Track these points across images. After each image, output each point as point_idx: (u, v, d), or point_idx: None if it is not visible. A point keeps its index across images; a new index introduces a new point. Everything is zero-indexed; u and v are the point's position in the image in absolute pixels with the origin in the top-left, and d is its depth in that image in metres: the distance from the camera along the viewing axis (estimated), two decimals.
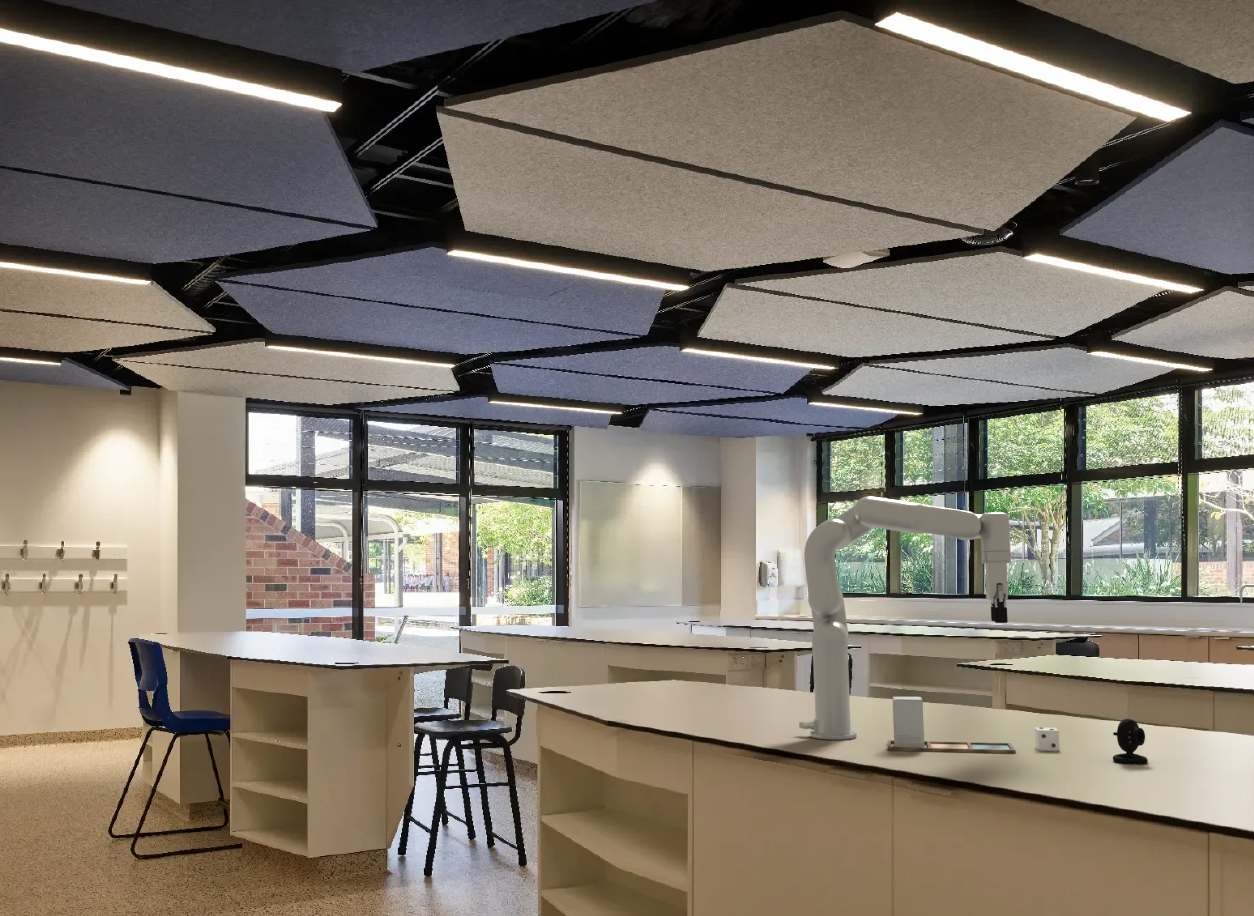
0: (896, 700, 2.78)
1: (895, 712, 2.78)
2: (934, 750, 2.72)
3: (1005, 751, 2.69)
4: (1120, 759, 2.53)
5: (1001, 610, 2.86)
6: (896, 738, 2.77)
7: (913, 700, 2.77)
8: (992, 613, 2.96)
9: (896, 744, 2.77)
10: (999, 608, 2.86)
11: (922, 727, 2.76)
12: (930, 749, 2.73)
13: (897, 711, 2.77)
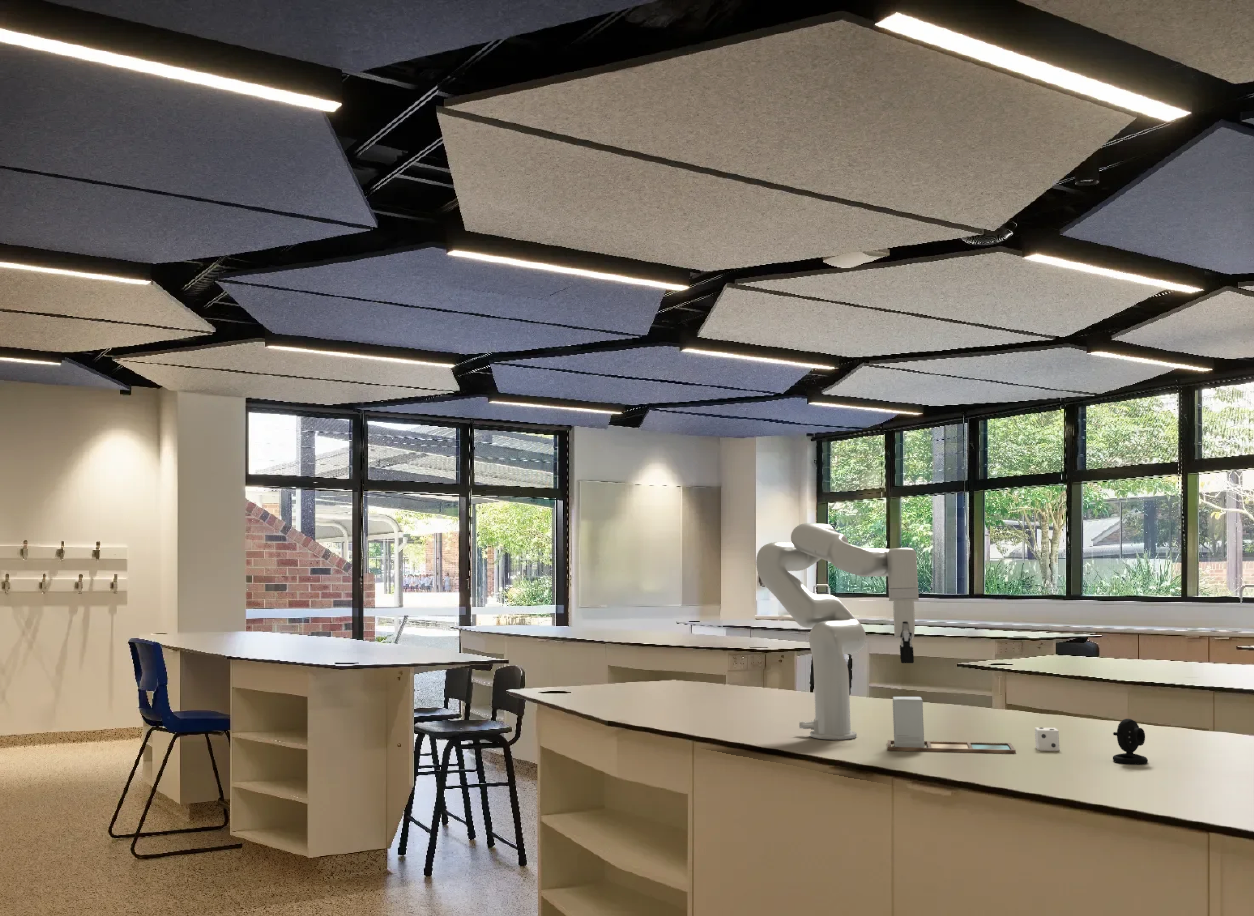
0: (896, 700, 2.78)
1: (895, 712, 2.78)
2: (934, 750, 2.72)
3: (1005, 751, 2.69)
4: (1120, 759, 2.53)
5: (907, 650, 2.76)
6: (896, 738, 2.77)
7: (913, 700, 2.77)
8: None
9: (896, 744, 2.77)
10: (905, 648, 2.76)
11: (922, 727, 2.76)
12: (930, 749, 2.73)
13: (897, 711, 2.77)
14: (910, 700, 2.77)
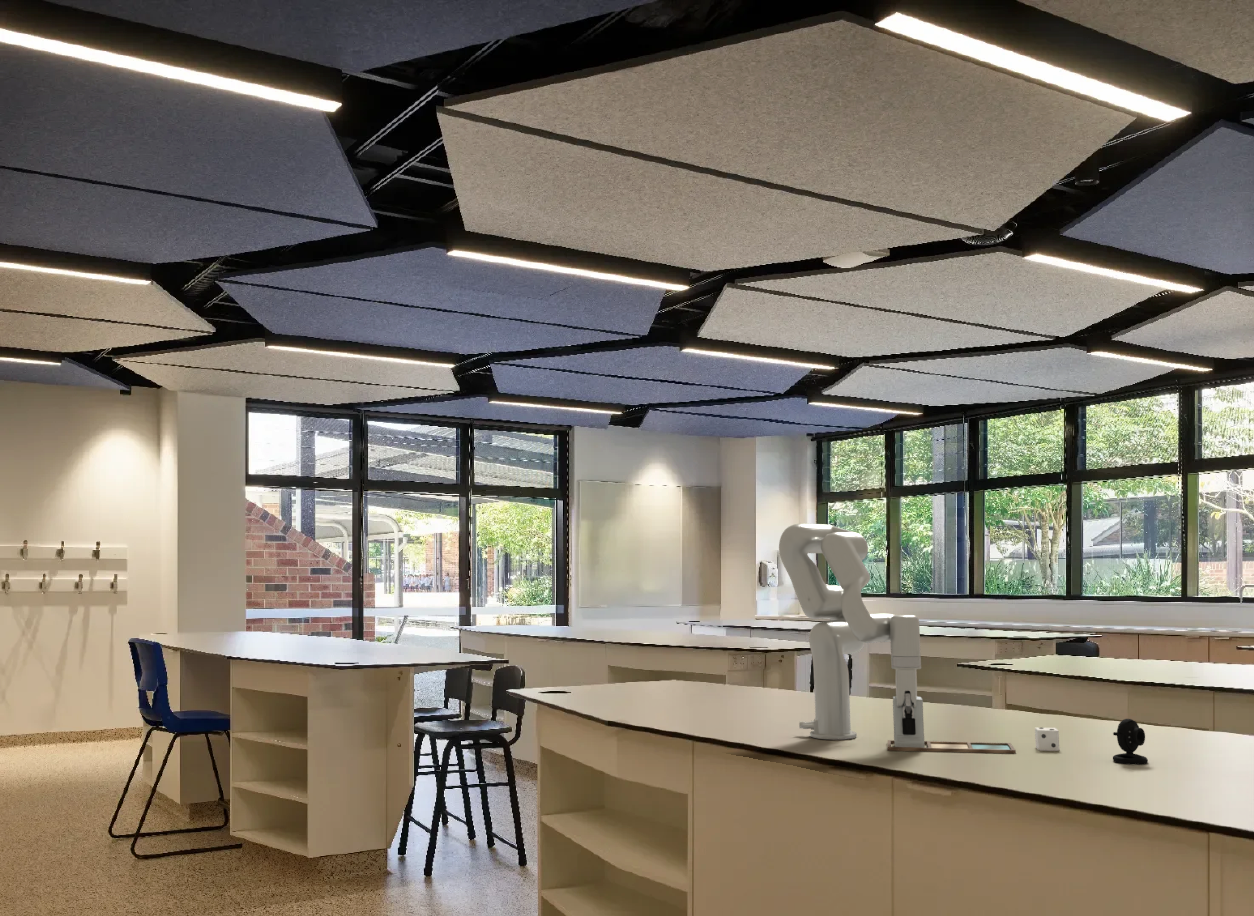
0: (896, 700, 2.78)
1: (895, 712, 2.78)
2: (934, 750, 2.72)
3: (1005, 751, 2.69)
4: (1120, 759, 2.53)
5: (909, 721, 2.75)
6: (896, 738, 2.77)
7: None
8: None
9: (896, 744, 2.77)
10: (907, 719, 2.75)
11: (922, 727, 2.76)
12: (930, 749, 2.73)
13: (897, 711, 2.77)
14: (910, 700, 2.77)
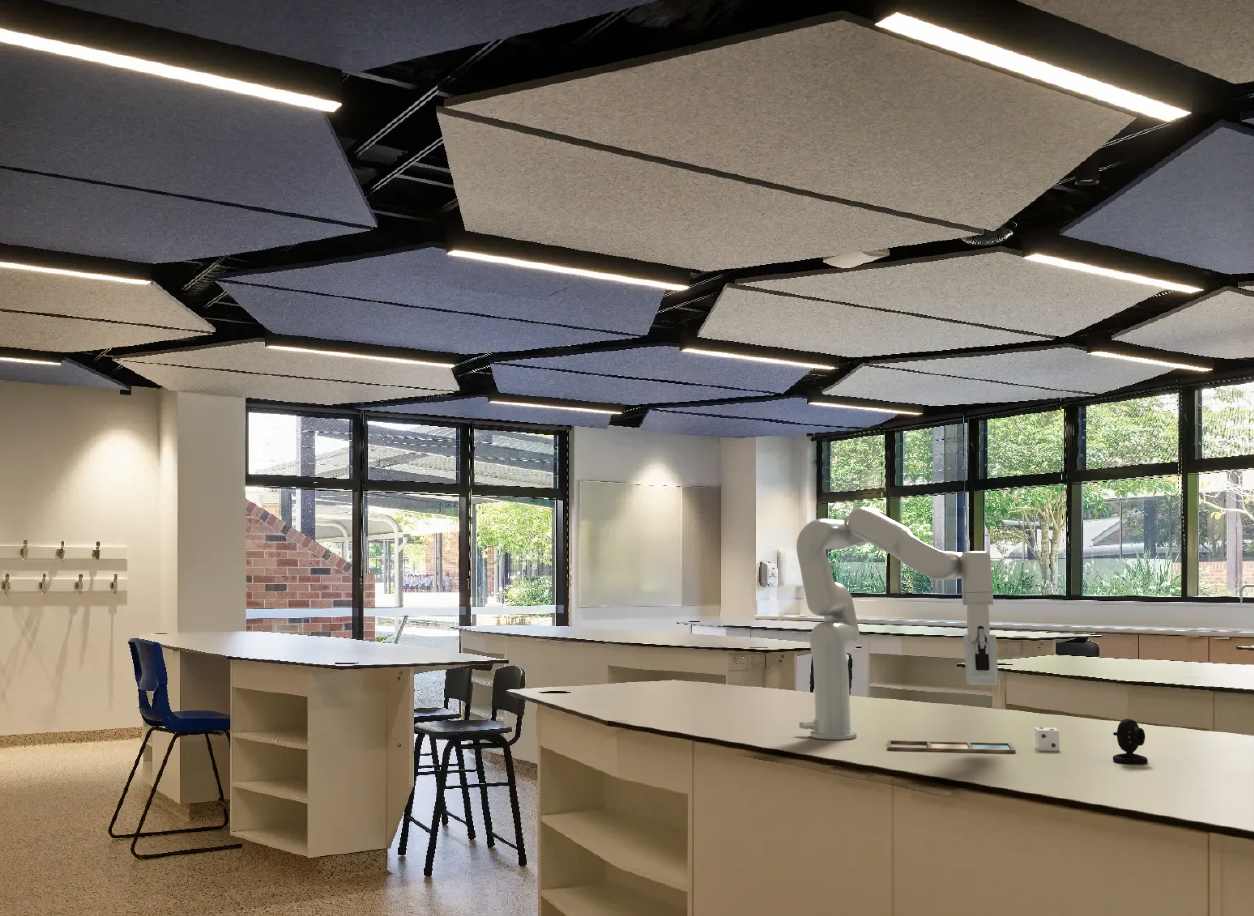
0: None
1: (968, 648, 2.75)
2: (934, 750, 2.72)
3: (1005, 751, 2.69)
4: (1120, 759, 2.53)
5: (982, 657, 2.73)
6: (969, 674, 2.74)
7: None
8: None
9: (969, 680, 2.74)
10: (980, 655, 2.73)
11: (996, 662, 2.73)
12: (930, 749, 2.73)
13: (970, 647, 2.75)
14: None
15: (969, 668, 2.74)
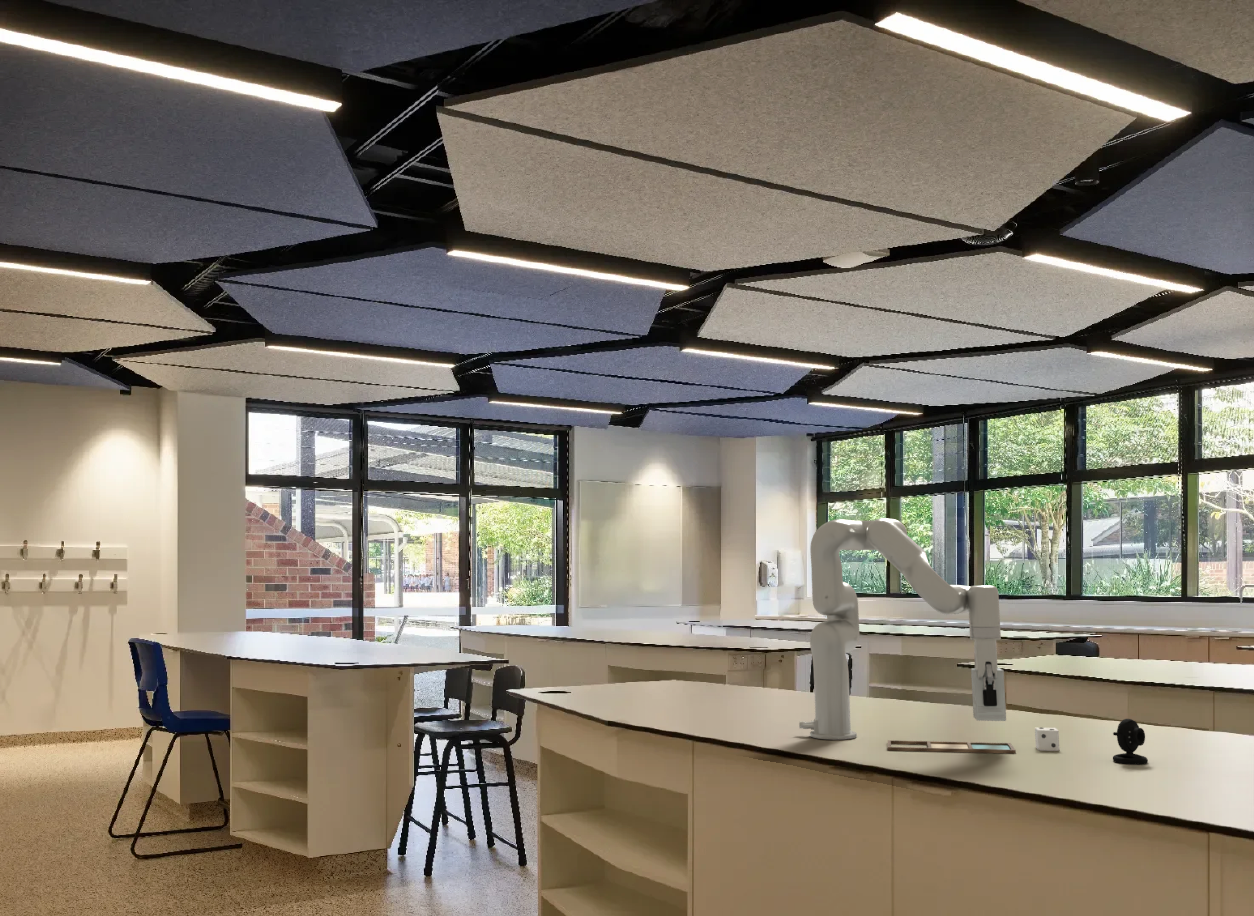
0: (976, 671, 2.74)
1: (976, 683, 2.74)
2: (934, 750, 2.72)
3: (1005, 751, 2.69)
4: (1120, 759, 2.53)
5: (990, 693, 2.71)
6: (977, 709, 2.73)
7: None
8: None
9: (977, 715, 2.73)
10: (988, 690, 2.72)
11: (1003, 698, 2.72)
12: (930, 749, 2.73)
13: (978, 682, 2.74)
14: None
15: (977, 704, 2.73)
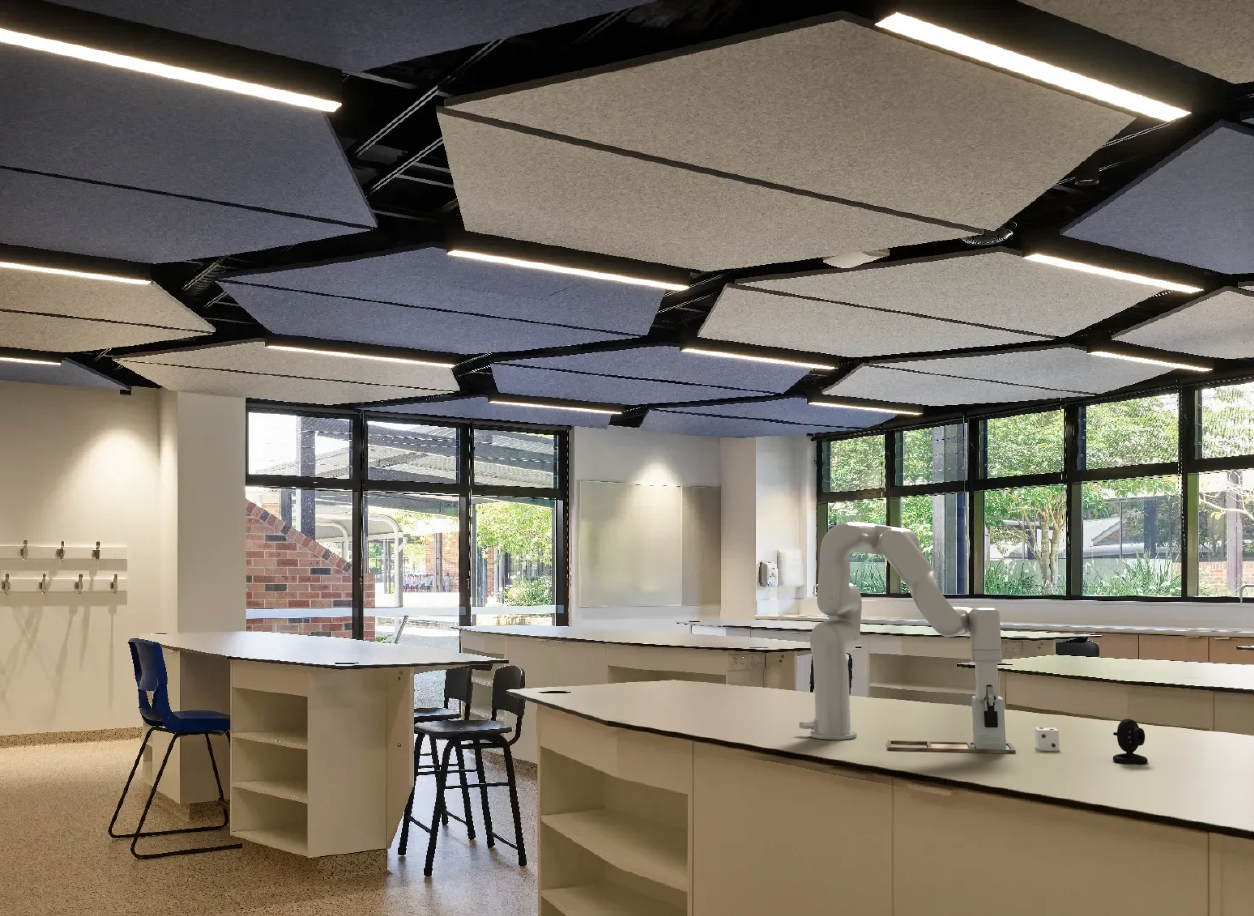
0: (976, 700, 2.74)
1: (975, 712, 2.73)
2: (934, 750, 2.72)
3: (1005, 751, 2.69)
4: (1120, 759, 2.53)
5: (991, 714, 2.70)
6: (977, 738, 2.73)
7: None
8: None
9: (977, 744, 2.73)
10: (989, 712, 2.70)
11: (1003, 727, 2.72)
12: (930, 749, 2.73)
13: (977, 711, 2.73)
14: None
15: (977, 732, 2.73)
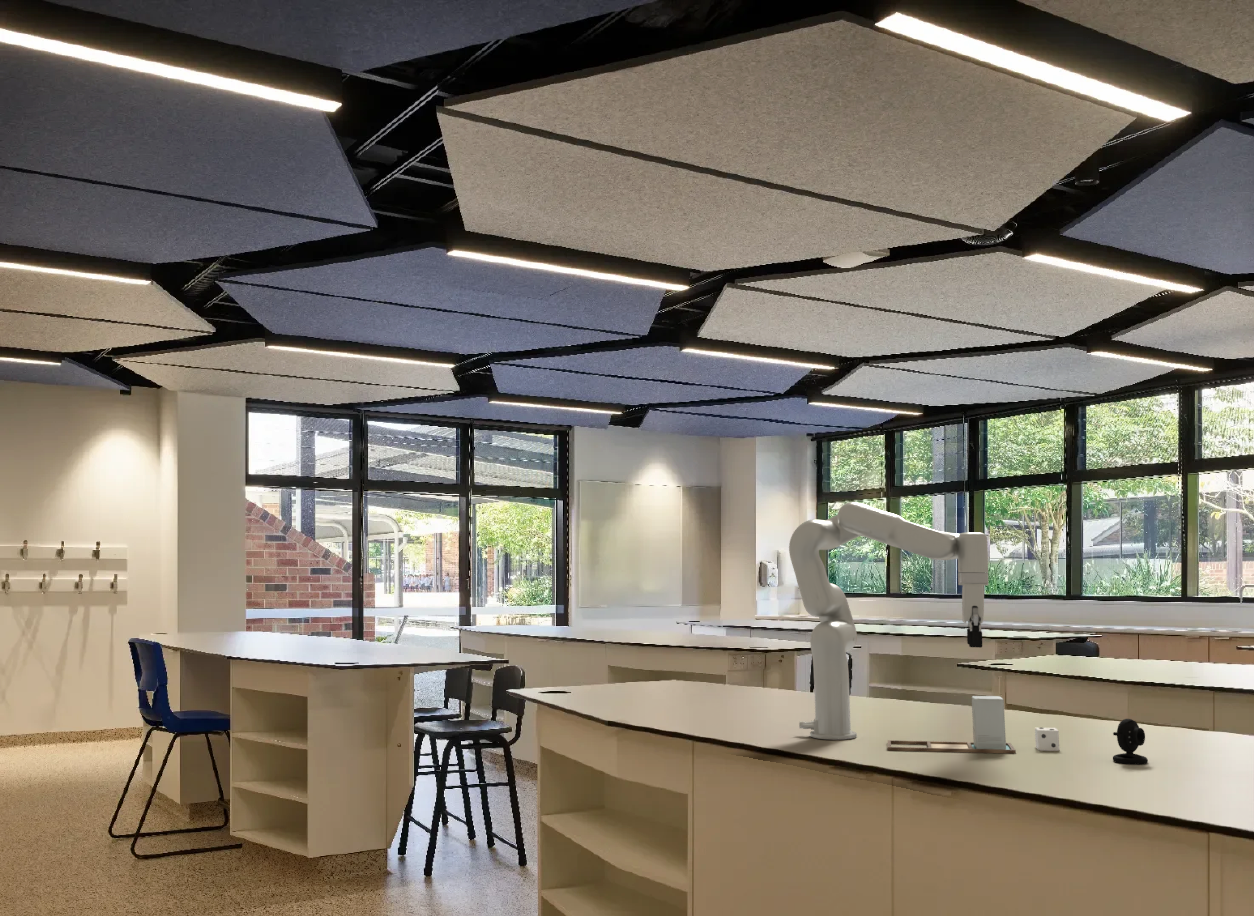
0: (976, 700, 2.74)
1: (975, 712, 2.73)
2: (934, 750, 2.72)
3: (1005, 751, 2.69)
4: (1120, 759, 2.53)
5: (976, 634, 2.77)
6: (977, 738, 2.73)
7: (994, 700, 2.73)
8: (968, 636, 2.87)
9: (977, 744, 2.73)
10: (974, 632, 2.77)
11: (1003, 727, 2.72)
12: (930, 749, 2.73)
13: (977, 711, 2.73)
14: (991, 700, 2.73)
15: (977, 732, 2.73)
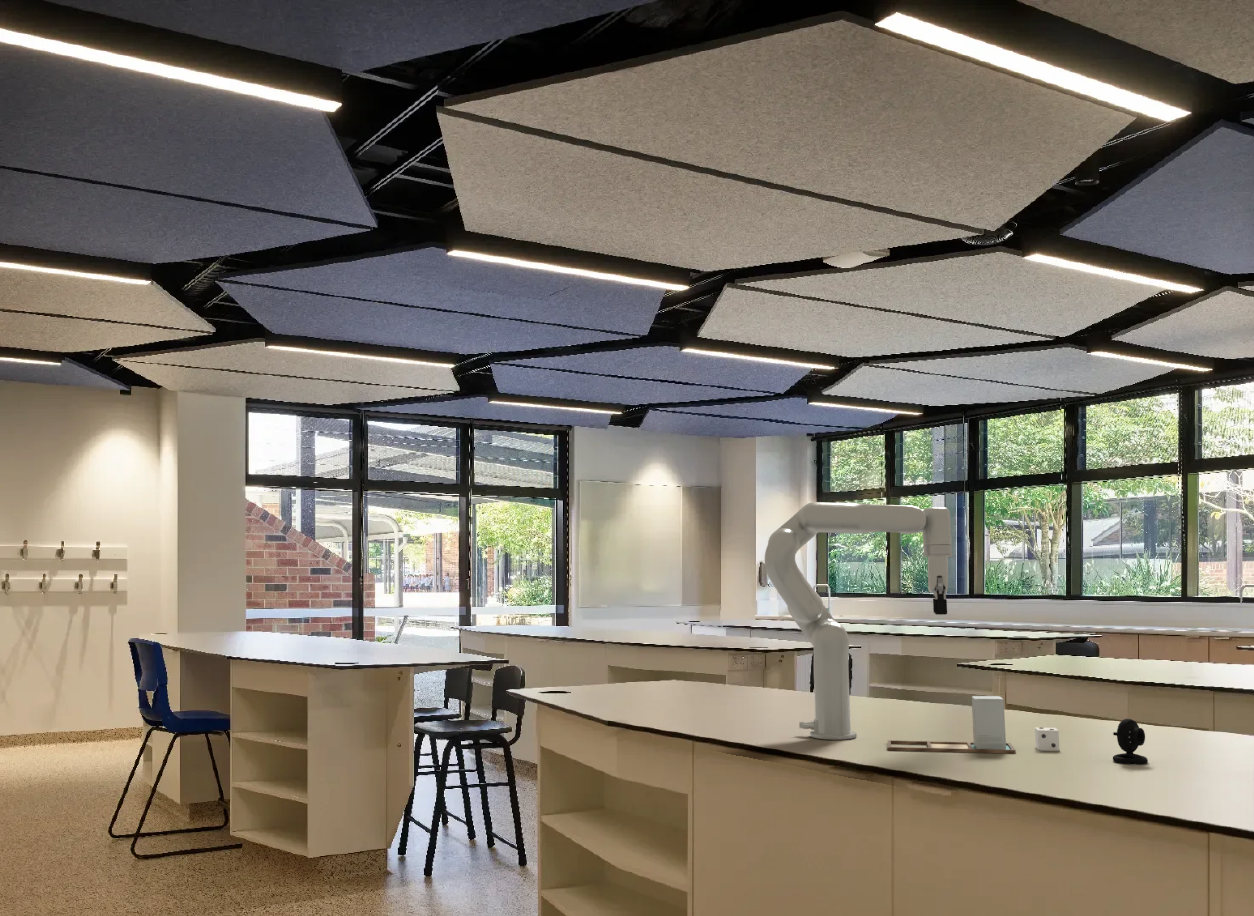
0: (976, 700, 2.74)
1: (975, 712, 2.73)
2: (934, 750, 2.72)
3: (1005, 751, 2.69)
4: (1120, 759, 2.53)
5: (941, 602, 2.95)
6: (977, 738, 2.73)
7: (994, 700, 2.73)
8: (934, 605, 3.05)
9: (977, 744, 2.73)
10: (939, 600, 2.95)
11: (1003, 727, 2.72)
12: (930, 749, 2.73)
13: (977, 711, 2.73)
14: (991, 700, 2.73)
15: (977, 732, 2.73)
